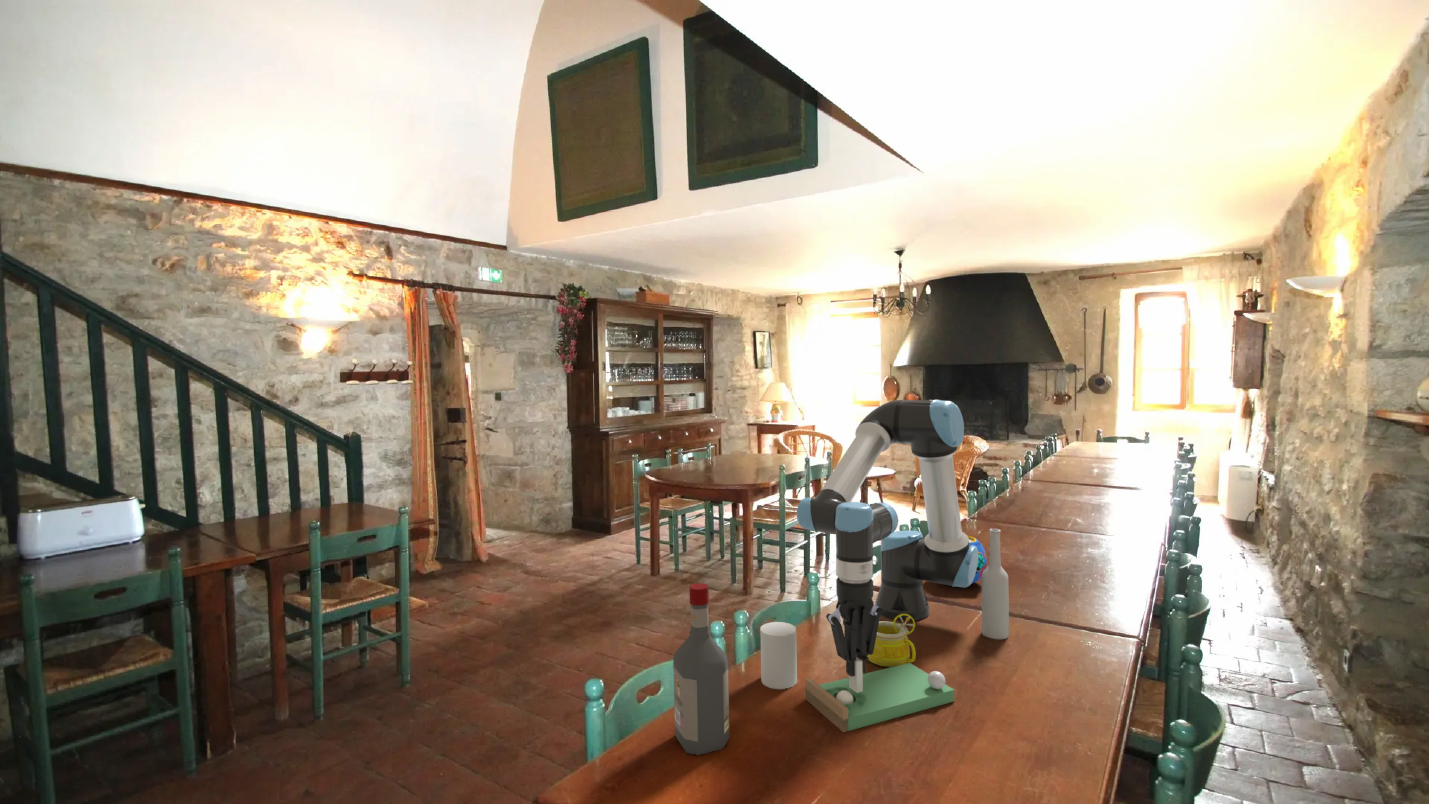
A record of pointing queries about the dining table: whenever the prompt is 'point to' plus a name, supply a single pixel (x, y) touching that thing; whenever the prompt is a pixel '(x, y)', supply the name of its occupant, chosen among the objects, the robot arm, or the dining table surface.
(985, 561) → the blue painted round piece
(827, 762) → the dining table surface
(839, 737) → the dining table surface
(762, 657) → the cup
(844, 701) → the ball
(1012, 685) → the dining table surface
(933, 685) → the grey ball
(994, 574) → the bottle
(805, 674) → the dining table surface
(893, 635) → the mug
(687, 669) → the liquor
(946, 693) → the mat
